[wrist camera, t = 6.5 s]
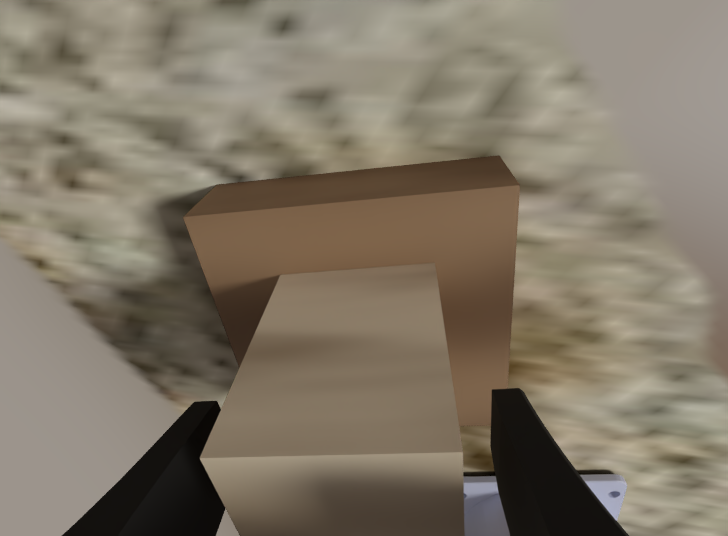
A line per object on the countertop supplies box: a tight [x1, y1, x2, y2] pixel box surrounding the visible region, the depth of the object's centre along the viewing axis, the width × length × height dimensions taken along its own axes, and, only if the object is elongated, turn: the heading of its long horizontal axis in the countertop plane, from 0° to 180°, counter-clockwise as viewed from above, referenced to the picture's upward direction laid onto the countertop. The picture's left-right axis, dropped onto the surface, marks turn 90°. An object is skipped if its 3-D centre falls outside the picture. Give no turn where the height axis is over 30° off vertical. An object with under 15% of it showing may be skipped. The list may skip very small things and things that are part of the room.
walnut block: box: [183, 156, 520, 426], centre depth 15 cm, size 9×9×3 cm
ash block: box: [200, 263, 465, 536], centre depth 11 cm, size 4×4×6 cm
